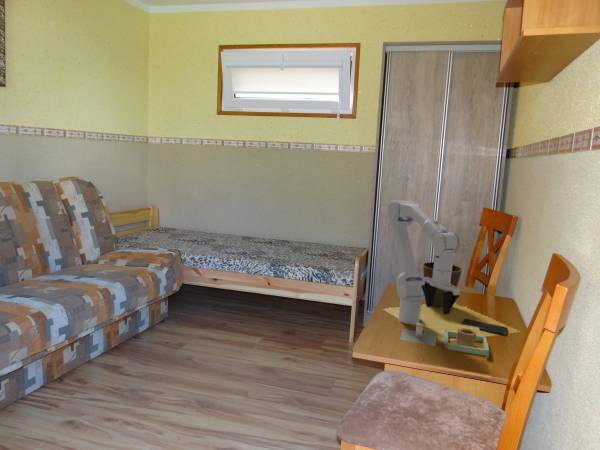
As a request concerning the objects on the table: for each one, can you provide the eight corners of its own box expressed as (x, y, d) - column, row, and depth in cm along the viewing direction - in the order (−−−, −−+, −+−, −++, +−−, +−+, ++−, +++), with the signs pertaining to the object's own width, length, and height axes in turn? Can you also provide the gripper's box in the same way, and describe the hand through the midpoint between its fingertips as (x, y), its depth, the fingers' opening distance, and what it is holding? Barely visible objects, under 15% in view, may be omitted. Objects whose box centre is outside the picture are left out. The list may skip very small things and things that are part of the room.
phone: (506, 333, 168) (460, 324, 175) (505, 337, 168) (460, 327, 175) (507, 327, 175) (464, 318, 182) (507, 330, 175) (463, 321, 182)
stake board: (402, 331, 166) (403, 316, 165) (435, 336, 163) (437, 321, 162) (399, 342, 155) (401, 326, 154) (435, 348, 152) (437, 332, 151)
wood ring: (452, 343, 156) (454, 329, 155) (464, 341, 159) (466, 327, 158) (465, 350, 151) (467, 335, 151) (478, 347, 154) (479, 333, 153)
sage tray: (444, 337, 163) (445, 330, 162) (484, 343, 160) (485, 336, 159) (444, 351, 151) (445, 343, 150) (488, 358, 148) (489, 350, 147)
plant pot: (459, 313, 190) (465, 272, 188) (420, 308, 192) (425, 268, 190) (454, 302, 205) (458, 264, 202) (417, 297, 207) (421, 260, 204)
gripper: (417, 264, 162) (413, 304, 164) (450, 276, 150) (445, 318, 152) (433, 263, 166) (428, 302, 168) (466, 274, 153) (461, 316, 155)
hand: (437, 310), depth 160 cm, fingers open, 7 cm apart
